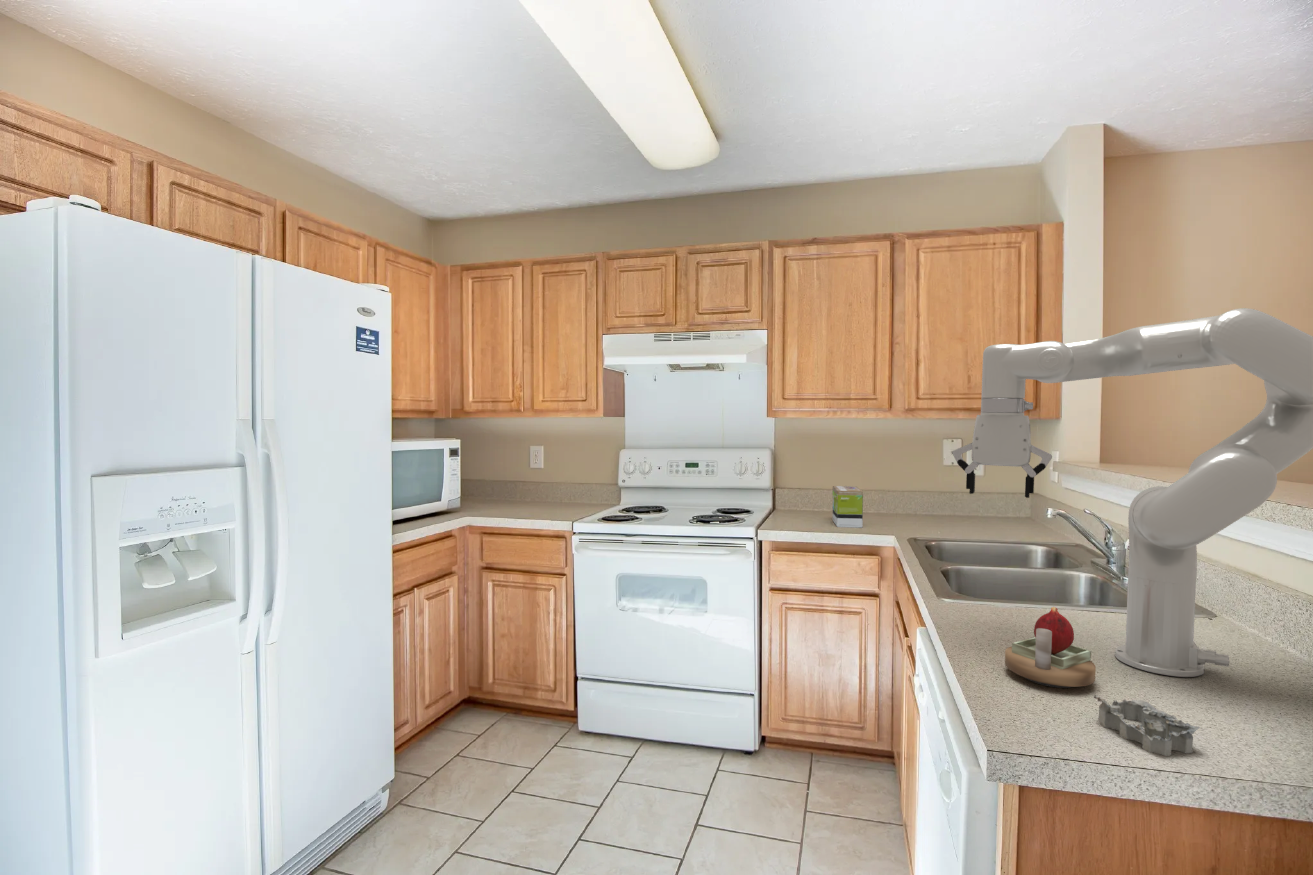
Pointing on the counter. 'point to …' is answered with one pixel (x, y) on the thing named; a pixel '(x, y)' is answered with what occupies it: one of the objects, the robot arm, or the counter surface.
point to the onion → (1056, 630)
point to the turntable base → (1048, 684)
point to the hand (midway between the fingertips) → (999, 495)
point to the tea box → (848, 506)
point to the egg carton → (1147, 726)
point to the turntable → (1050, 662)
